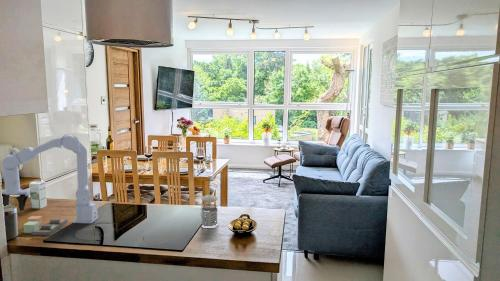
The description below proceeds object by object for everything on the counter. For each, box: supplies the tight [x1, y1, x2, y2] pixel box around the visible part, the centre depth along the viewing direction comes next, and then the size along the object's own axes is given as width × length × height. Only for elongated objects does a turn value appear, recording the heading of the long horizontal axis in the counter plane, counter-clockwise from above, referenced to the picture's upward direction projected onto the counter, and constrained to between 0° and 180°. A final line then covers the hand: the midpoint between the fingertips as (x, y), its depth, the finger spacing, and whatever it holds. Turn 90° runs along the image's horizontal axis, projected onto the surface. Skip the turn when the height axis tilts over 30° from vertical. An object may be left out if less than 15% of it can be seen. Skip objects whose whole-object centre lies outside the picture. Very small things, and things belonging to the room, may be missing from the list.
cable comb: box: [31, 218, 68, 236], centre depth 166 cm, size 8×16×2 cm, turn 179°
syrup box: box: [28, 180, 48, 210], centre depth 194 cm, size 6×6×14 cm
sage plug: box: [22, 221, 41, 234], centre depth 162 cm, size 5×4×4 cm
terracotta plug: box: [26, 215, 44, 226], centre depth 170 cm, size 5×4×4 cm
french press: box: [200, 175, 219, 226], centre depth 171 cm, size 10×12×25 cm
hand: (14, 210), depth 161 cm, fingers open, 6 cm apart
